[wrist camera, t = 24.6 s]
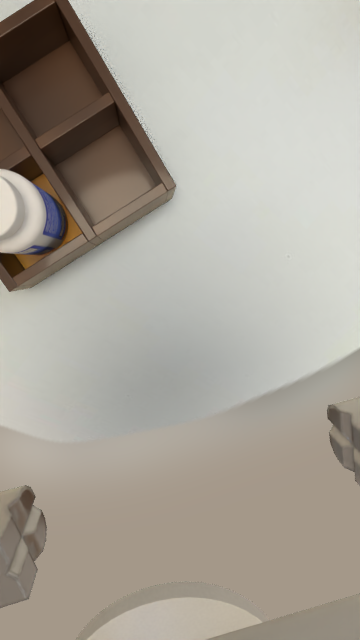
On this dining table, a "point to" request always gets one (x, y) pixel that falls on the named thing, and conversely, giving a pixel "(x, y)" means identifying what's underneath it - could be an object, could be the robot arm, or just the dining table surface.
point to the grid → (71, 136)
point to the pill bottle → (29, 217)
